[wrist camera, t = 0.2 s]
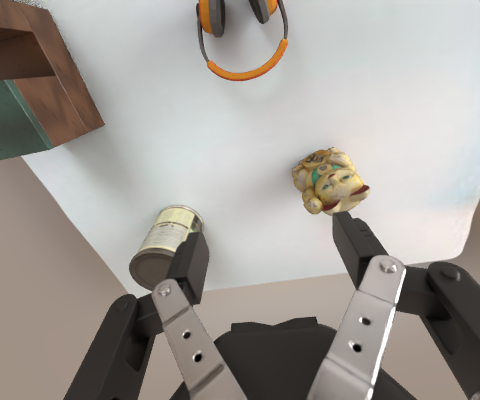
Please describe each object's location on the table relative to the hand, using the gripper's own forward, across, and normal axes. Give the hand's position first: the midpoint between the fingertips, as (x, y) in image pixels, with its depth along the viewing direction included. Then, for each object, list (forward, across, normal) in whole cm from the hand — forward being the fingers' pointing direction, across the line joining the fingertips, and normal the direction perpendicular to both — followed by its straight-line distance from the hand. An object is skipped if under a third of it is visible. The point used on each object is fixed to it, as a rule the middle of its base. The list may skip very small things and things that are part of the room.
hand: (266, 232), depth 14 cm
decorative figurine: (+29, -10, +10) cm, 33 cm away
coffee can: (+29, +20, +18) cm, 40 cm away
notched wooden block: (+29, +31, -13) cm, 44 cm away
